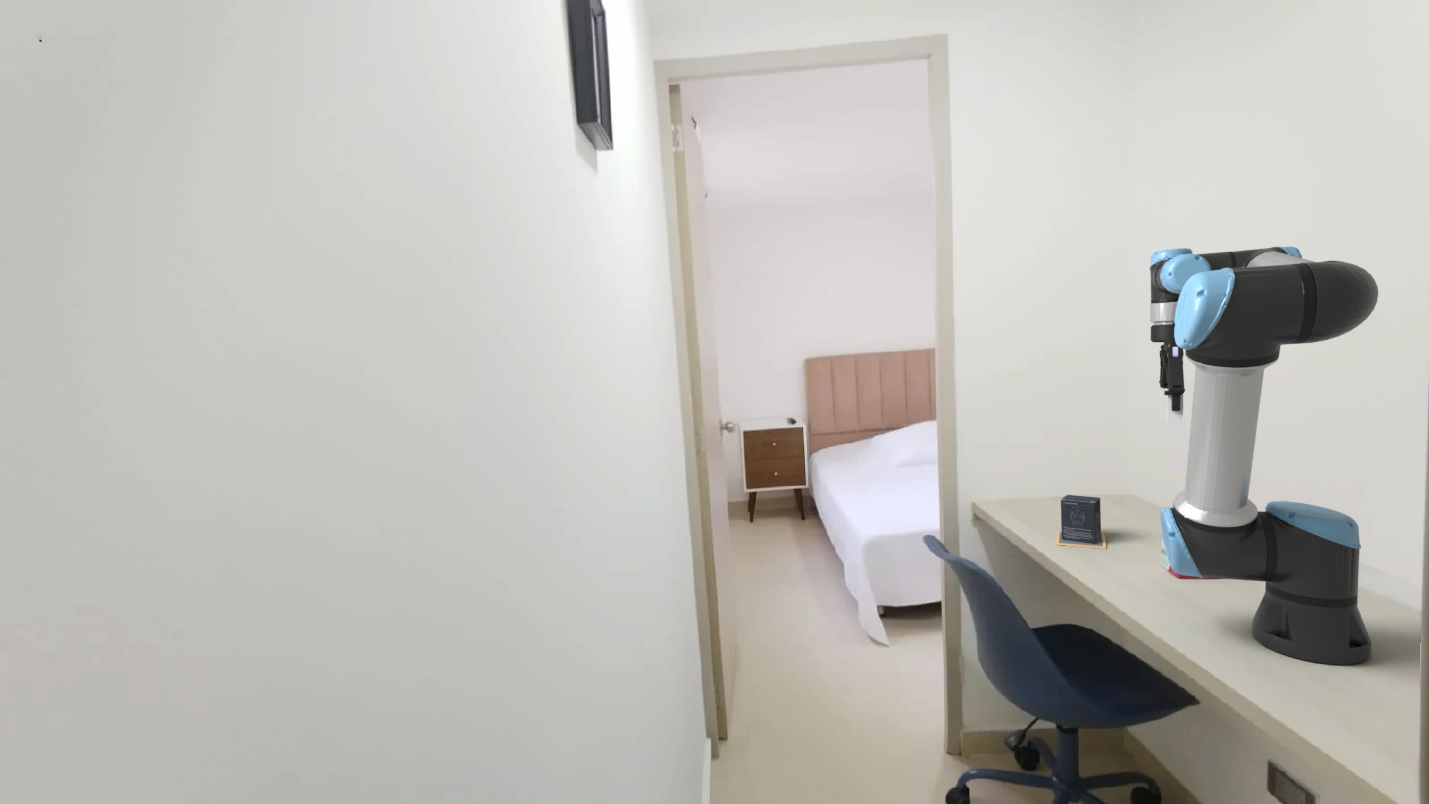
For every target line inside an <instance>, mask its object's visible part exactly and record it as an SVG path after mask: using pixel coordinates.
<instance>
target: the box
mask: <svg viewBox="0 0 1429 804" xmlns="http://www.w3.org/2000/svg"><path fill="white" fill-rule="evenodd" d="M1101 513H1102V512H1101V497H1095V496H1087V495H1085V496H1084V495H1074V494H1066V495H1065V496H1064V497H1062V498H1061V499H1060V519H1061V525H1060V526H1061V527H1060V528H1061V531H1062V539H1064V540H1072V541H1080V542H1088V543H1097V542H1098V541H1099V540H1100V539H1101V534H1102V520H1101V519H1102V518H1101Z"/></svg>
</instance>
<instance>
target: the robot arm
mask: <svg viewBox="0 0 1429 804" xmlns="http://www.w3.org/2000/svg"><path fill="white" fill-rule="evenodd" d="M1149 271H1150V303H1149V304H1150V309H1149V310H1150V311H1149V312H1150V313H1149V315H1150V317H1149V318H1150V319H1149V320H1150V321H1149V322H1151V323H1153V324H1152V325H1151V326H1150V341H1151V342H1152V343H1163V344H1161V345H1160V350H1159V359H1160V360H1159V364H1160V367H1159V369H1160V370H1159V371H1160V373H1159V381H1158V383H1159V386H1160V391H1159V392H1160V399H1159V400H1160V401H1159V402H1160V405H1159V406H1160V419H1163V418H1164V419H1165V418H1166V424H1167V425H1166V426H1167V427H1184V394H1185V391H1186V388H1185V380H1184V379H1185V378H1184V377H1185V376H1184V360H1183V359H1184V352H1185V357H1186V359H1187V360H1188V361H1189V362H1190V363H1192V364H1193V365H1194V366H1195V370H1194V371H1195V372H1194V381H1193V394H1192V395H1193V396H1192V408H1191V417H1190V418H1191V419H1190V430H1189V441H1188V442H1189V443H1188V453H1187V462H1186V463H1187V466H1186V477H1185V486H1184V490H1183V491H1181V492H1179V493H1177V494H1176V495H1175V496H1174V499H1173V504H1172V507H1170V506H1168V507H1165V508H1162V509H1161V512H1160V526H1162V533H1163V539H1164V544H1165V549H1166V553H1167V557H1168V561H1169V564H1170V566H1171V568H1172V569H1173V570H1174V571H1175V572H1176V573H1178V574H1180V575H1186V576H1195V577H1199V578H1204V577H1205V578H1221V580H1222V579H1224V580H1235V581H1236V580H1239V581H1251V582H1252V581H1254V582H1265V590H1264V595H1263V597H1262V599H1261V601H1260V603H1259V606H1258V607H1257V609H1256V612H1255V614H1254V616H1253V618H1252V621H1251V635H1252V637H1253V639H1254V640H1255V641H1256V642H1257V643H1259V644H1261V645H1262V646H1264V647H1265V648H1268V649H1270V650H1272V651H1275V652H1277V653H1279V654H1282V655H1285V656H1289V657H1292V658H1296V659H1300V660H1304V661H1309V662H1313V663H1320V664H1327V665H1329V664H1330V665H1356V664H1361V663H1364V662H1366V661H1368V660H1369V659H1371V657H1372V640H1371V638H1370V635H1369V633H1368V630H1367V627H1366V624H1365V622H1364V620H1363V617H1362V615H1361V612H1360V610H1359V607H1358V602H1359V601H1358V597H1359V596H1358V594H1359V593H1358V592H1359V571H1360V570H1359V569H1360V567H1359V566H1360V549H1361V548H1362V546H1361V543H1360V529H1359V528H1360V527H1359V525H1358V522H1357V521H1356V520H1355V519H1353V517H1351V516H1349V515H1348V514H1346V513H1343V512H1340V511H1337V510H1334V509H1331V508H1328V507H1323V506H1319V505H1315V504H1309V503H1304V502H1297V501H1288V500H1277V501H1274V500H1273V501H1269V502H1268V503H1267V505H1266V506H1265V507H1264V509H1265V511H1261V510H1259V509H1258V507H1257V505H1256V504H1255V503H1254V502H1253V501H1252V500H1251V499H1249V494H1250V493H1249V492H1250V485H1251V476H1252V469H1253V463H1254V453H1255V444H1256V438H1257V428H1258V422H1259V413H1260V407H1261V406H1260V405H1261V398H1262V392H1263V391H1262V389H1263V380H1264V372H1265V369H1266V368H1268V367H1270V366H1272V365H1274V364H1276V363H1277V362H1278V360H1279V359H1280V353H1281V352H1280V351H1281V346H1282V345H1296V344H1297V345H1299V344H1300V345H1301V344H1314V343H1318V342H1320V343H1321V342H1324V341H1329V340H1332V339H1334V338H1339V337H1340V336H1342V335H1345V334H1346V333H1350V332H1351V331H1353V330H1354V329H1355V328H1357V327H1359V326H1361V324H1363V323H1364V322H1365V321H1366V320H1367V319H1368V318H1369V317H1370V316H1371V314H1372V313H1373V312H1374V310H1375V308H1376V306H1377V303H1378V298H1379V288H1378V284H1377V281H1376V280H1375V278H1374V277H1373V276H1372V274H1371V273H1369V271H1368V270H1366V269H1364V268H1363V267H1362V266H1359V265H1356V264H1353V263H1349V262H1345V261H1340V260H1324V261H1313V260H1310V259H1306V258H1303V255H1302V254H1301V251H1300V250H1299V249H1298V248H1297V247H1295V246H1271V247H1269V248H1265V247H1264V248H1257V249H1256V248H1255V249H1254V248H1253V249H1245V250H1236V251H1222V252H1220V251H1219V252H1208V253H1206V252H1205V253H1197V254H1194V253H1193V250H1192V249H1191V248H1186V247H1185V248H1184V247H1183V248H1172V249H1163V250H1162V249H1161V250H1158V251H1155V252H1153V253H1152V254H1151V255H1150V265H1149ZM1184 350H1185V351H1184ZM1258 510H1259V511H1258Z"/></svg>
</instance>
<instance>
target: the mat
mask: <svg viewBox="0 0 1429 804" xmlns="http://www.w3.org/2000/svg"><path fill="white" fill-rule="evenodd" d="M1055 538H1056V539H1055V546H1060V545H1066V546H1065V547H1073V546H1075V548H1086V549H1087V548H1088V549H1098V550H1099V549H1101V550H1102V549H1103V550H1106V549H1107V541H1106V534H1104V533H1101V539H1100V540H1099V541H1098V542H1097V543H1088V542H1080V541H1072V540H1064V539H1062V530H1056V537H1055Z"/></svg>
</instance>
